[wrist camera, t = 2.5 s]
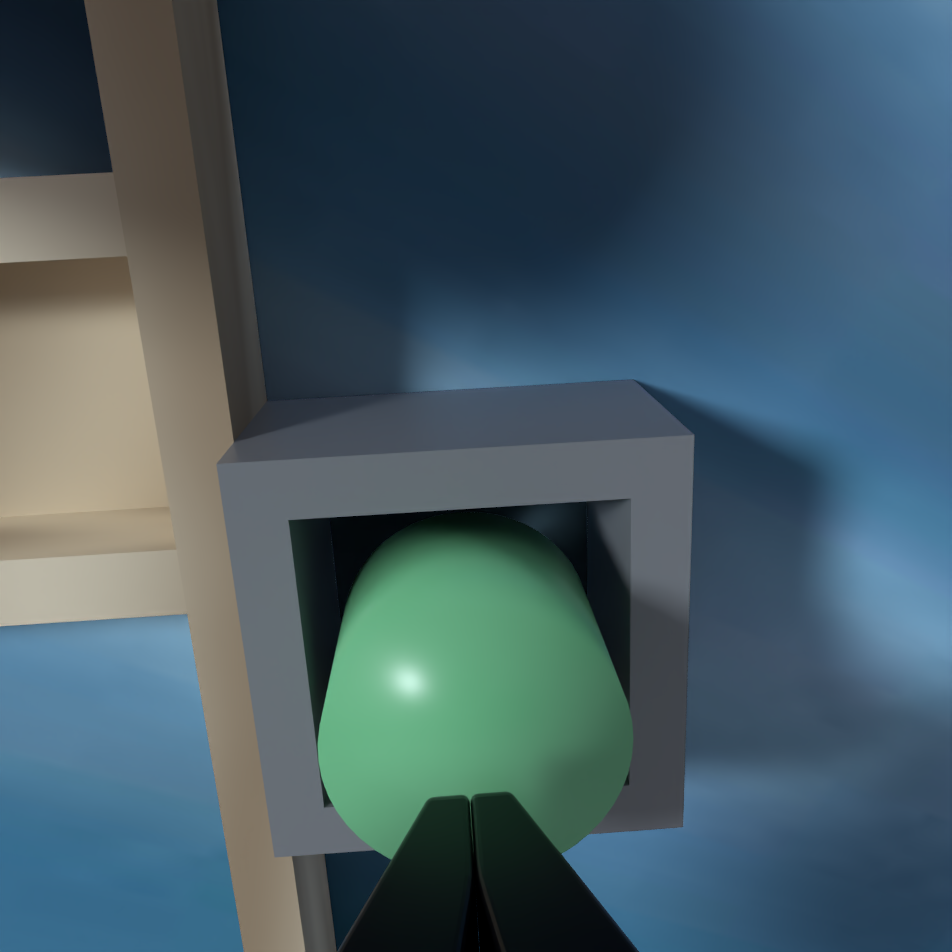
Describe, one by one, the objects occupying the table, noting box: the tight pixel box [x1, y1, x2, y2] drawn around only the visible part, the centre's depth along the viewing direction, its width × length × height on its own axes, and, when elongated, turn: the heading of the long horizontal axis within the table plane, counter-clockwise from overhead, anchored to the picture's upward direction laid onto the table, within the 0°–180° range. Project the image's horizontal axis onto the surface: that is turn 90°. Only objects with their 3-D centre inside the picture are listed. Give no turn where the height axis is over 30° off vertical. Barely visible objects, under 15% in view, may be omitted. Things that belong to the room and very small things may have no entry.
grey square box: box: [216, 380, 694, 858], centre depth 13 cm, size 6×6×4 cm
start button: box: [318, 512, 633, 860], centre depth 11 cm, size 4×4×3 cm
